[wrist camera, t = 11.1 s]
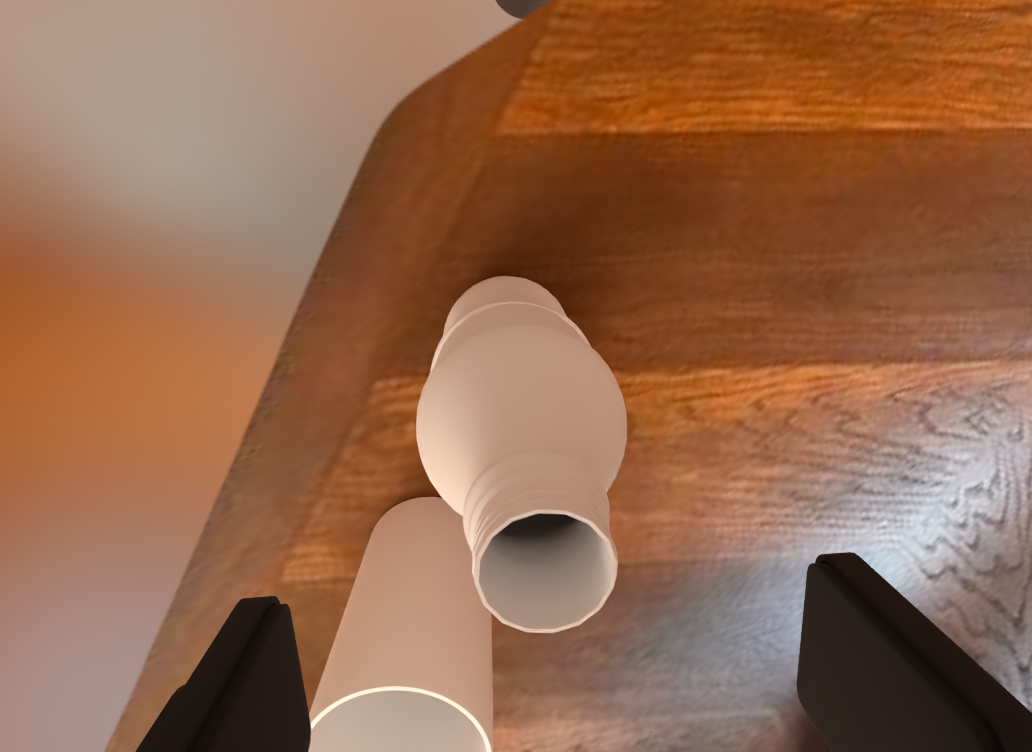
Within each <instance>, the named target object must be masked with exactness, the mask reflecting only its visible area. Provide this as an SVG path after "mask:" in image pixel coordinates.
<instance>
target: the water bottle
mask: <svg viewBox="0 0 1032 752" xmlns="http://www.w3.org/2000/svg"><path fill="white" fill-rule="evenodd" d="M416 433H417V444H418V448H419V453H420V457H421V460H422V464H423V466H424V468H425V471H426V473H427V475H428V477H429V480H430V481H431V483H432V484H433V486H434V487H435V489H436V490H437V491H438V493H439V494H440V496H441V497H442V498H443V499H444V500H445V501H446V502H447V503H448V504H449V505H450V506H451V507H452V508H453V509H454V510H455V511H456V512H457V513H459V514H460V515H462V516H463V526H464V533H465V536H466V539H467V542H468V544H469V546H470V549H471V551H472V557H473V564H472V574H473V577H474V583H475V586H476V588H477V591H478V593H479V595H480V598H481V600H482V603H483V605H484V606H485V607H486V608H487V609H488V610H489V611H490V612H491V613H492V614H493V615H494V616H495V617H496V618H498V619H499V620H500V621H501V622H502V623H504V624H507V625H509V626H512V627H514V628H517V629H519V630H522V631H525V632H536V633H555V632H558V631H561V630H565V629H568V628H571V627H574V626H577V625H580V624H581V623H582V622H584V621H585V620H586V619H588V618H589V617H590V616H592V615H593V614H594V613H596V612H597V611H598V610H600V609H601V607H602V606H603V604H604V603H605V601H606V599H607V598H608V596H609V594H610V593H611V591H612V590H613V588H614V583H615V580H616V577H617V566H618V556H617V551H616V547H615V544H614V542H613V540H612V537H611V534H610V532H609V521H610V505H609V501H608V497H607V494H606V493H607V491H608V490H609V488H610V486H611V484H612V483H613V481H614V479H615V478H616V475H617V473H618V470H619V467H620V465H621V462H622V459H623V457H624V452H625V446H626V441H627V416H626V409H625V405H624V400H623V396H622V393H621V391H620V388H619V385H618V383H617V381H616V379H615V377H614V375H613V373H612V372H611V370H610V368H609V366H608V365H607V364H606V363H605V361H604V360H603V359H602V358H601V356H600V355H599V354H598V353H597V352H596V351H595V350H594V349H593V348H591V346H590V344H589V342H588V340H587V339H586V337H585V336H584V334H583V333H582V331H581V330H580V329H579V328H578V327H577V325H576V324H574V323H573V322H572V321H571V320H570V319H569V318H567V316H566V314H565V312H564V310H563V308H562V307H561V305H560V303H559V302H558V301H557V299H556V298H555V297H554V296H553V295H552V294H551V293H550V292H549V291H547V290H546V289H545V288H543V287H542V286H540V285H539V284H537V283H535V282H532V281H530V280H528V279H525V278H520V277H512V276H498V277H493V278H490V279H486V280H483V281H481V282H479V283H477V284H476V285H474V286H472V287H471V288H470V289H468V290H467V291H466V292H465V293H464V294H463V295H462V296H461V297H460V298H459V299H458V300H457V301H456V303H455V304H454V305H453V307H452V309H451V311H450V313H449V315H448V318H447V321H446V324H445V327H444V334H443V337H442V339H441V340H440V342H439V344H438V347H437V349H436V352H435V355H434V358H433V361H432V366H431V370H430V375H429V377H428V379H427V381H426V383H425V385H424V387H423V389H422V393H421V396H420V400H419V404H418V409H417V419H416Z"/></svg>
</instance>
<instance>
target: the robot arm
mask: <svg viewBox="0 0 1032 752" xmlns="http://www.w3.org/2000/svg"><path fill="white" fill-rule="evenodd" d="M797 692H798V696H799V699H800V702H801V704H802V706H803V708H804V710H805V711H806V713H807V714H808V716H809V717H810V719H811V721H812V722H813V724H814V725H815V727H816V728H817V730H818V731H819V733H820V734H821V736H822V737H823V739H824V741H825V742H826V744H827V745H828V747H829V748H830V750H831V751H832V752H1032V713H1031V712H1030V711H1029V710H1028V709H1027V708H1026V707H1025V706H1024V705H1022V704H1021V703H1020V702H1019V701H1018V700H1017V699H1016V698H1015V697H1014V696H1013V695H1011V694H1010V693H1009V692H1008V691H1007V690H1006V689H1005V688H1004V687H1003V686H1002V685H1000V684H999V683H998V682H997V681H996V680H995V679H994V678H993V677H992V676H991V675H989V674H988V673H987V672H986V671H985V670H984V669H983V668H982V667H981V666H979V665H978V664H977V663H976V662H975V661H974V660H973V659H972V658H971V657H970V656H968V655H967V654H966V653H965V652H964V651H963V650H962V649H961V648H960V647H959V646H957V645H956V644H955V643H954V642H953V641H952V640H951V639H950V638H949V637H948V636H946V635H945V634H944V633H943V632H942V631H941V630H940V629H939V628H938V627H936V626H935V625H934V624H933V623H932V622H931V621H930V620H929V619H928V618H927V617H925V616H924V615H923V614H922V613H921V612H920V611H919V610H918V609H917V608H916V607H914V606H913V605H912V604H911V603H910V602H909V601H908V600H907V599H906V598H904V597H903V596H902V595H901V594H900V593H899V592H898V591H897V590H896V589H895V588H893V587H892V586H891V585H890V584H889V583H888V582H887V581H886V580H885V579H884V578H882V577H881V576H880V575H879V574H878V573H877V572H876V571H875V570H874V569H873V568H871V567H870V566H869V565H868V564H867V563H866V562H865V561H864V560H863V559H861V558H860V557H859V556H858V555H856V554H855V553H851V552H847V553H834V554H821V555H819V556H818V557H817V559H816V562H815V563H812V564H810V565H809V567H808V570H807V579H806V590H805V601H804V611H803V622H802V633H801V643H800V654H799V665H798V675H797ZM310 741H311V723H310V718H309V712H308V707H307V701H306V696H305V690H304V684H303V679H302V673H301V668H300V662H299V656H298V651H297V645H296V640H295V634H294V629H293V623H292V617H291V612H290V608H289V606H288V605H287V604H280V602H279V600H278V598H277V597H275V596H269V597H255V598H243V599H241V600H240V601H239V602H238V603H237V604H236V606H235V608H234V609H233V611H232V612H231V614H230V615H229V617H228V619H227V620H226V622H225V623H224V625H223V626H222V628H221V630H220V631H219V633H218V634H217V636H216V637H215V639H214V641H213V642H212V644H211V645H210V647H209V648H208V650H207V652H206V653H205V655H204V656H203V658H202V659H201V661H200V663H199V664H198V666H197V667H196V669H195V670H194V672H193V674H192V675H191V677H190V678H189V680H188V681H187V683H186V685H183V686H181V687H180V688H178V689H177V690H176V692H175V693H174V694H173V695H172V696H171V698H170V699H169V701H168V702H167V704H166V706H165V707H164V709H163V710H162V712H161V713H160V715H159V716H158V718H157V719H156V721H155V722H154V724H153V726H152V727H151V729H150V730H149V732H148V733H147V735H146V736H145V738H144V739H143V741H142V742H141V744H140V746H139V747H138V749H137V750H136V752H308V751H309V747H310Z"/></svg>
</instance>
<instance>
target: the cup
mask: <svg viewBox="0 0 1032 752" xmlns="http://www.w3.org/2000/svg"><path fill="white" fill-rule="evenodd" d="M472 564H473V557H472V551H471V549H470V546H469V544H468V542H467V539H466V536H465V533H464V526H463V516H462V515H460V514H459V513H457V512H456V511H455V510H454V509H453V508H452V507H451V506H450V505H449V504H448V503H447V502H446V501H445V500H444V499H443V498H439V497H419V498H414V499H410V500H407V501H404V502H402V503H400V504H398V505H396V506H394V507H393V508H391V509H390V510H389V511H387V512H386V513H385V514H384V515H383V516H382V517H381V518H380V520H379V521H378V522H377V524H376V526H375V527H374V529H373V531H372V534H371V537H370V540H369V543H368V545H367V548H366V551H365V554H364V557H363V560H362V563H361V566H360V568H359V571H358V574H357V577H356V580H355V583H354V586H353V589H352V592H351V594H350V597H349V600H348V603H347V606H346V609H345V612H344V615H343V617H342V620H341V623H340V626H339V629H338V632H337V635H336V638H335V641H334V643H333V646H332V649H331V652H330V655H329V658H328V661H327V664H326V667H325V669H324V672H323V675H322V678H321V681H320V684H319V687H318V690H317V692H316V695H315V698H314V701H313V704H312V707H311V710H310V713H309V718H310V723H311V741H310V747H309V751H308V752H493V689H492V628H491V612H490V611H489V610H488V609H487V608H486V607H485V606H484V605H483V603H482V600H481V598H480V595H479V593H478V591H477V588H476V586H475V583H474V577H473V574H472Z"/></svg>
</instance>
